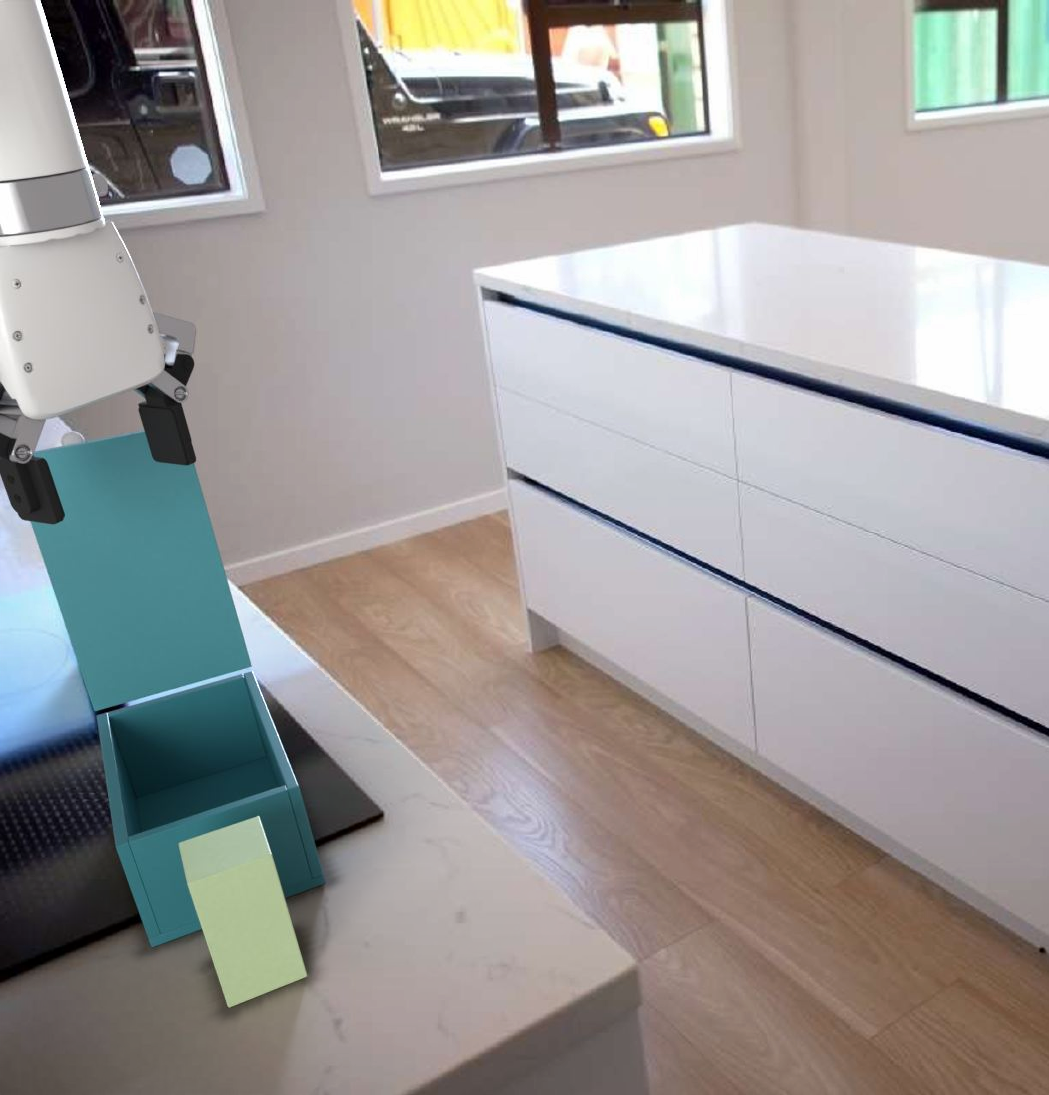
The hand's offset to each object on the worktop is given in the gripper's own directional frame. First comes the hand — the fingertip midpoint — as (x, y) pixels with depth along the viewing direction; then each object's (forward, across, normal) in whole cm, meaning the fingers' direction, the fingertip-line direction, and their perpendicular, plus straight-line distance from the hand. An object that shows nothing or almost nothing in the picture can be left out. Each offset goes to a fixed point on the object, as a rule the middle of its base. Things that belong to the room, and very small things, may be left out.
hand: (112, 489), depth 77 cm
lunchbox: (+26, +1, +2) cm, 26 cm away
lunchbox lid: (+8, -4, -6) cm, 11 cm away
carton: (+26, +10, +14) cm, 31 cm away
